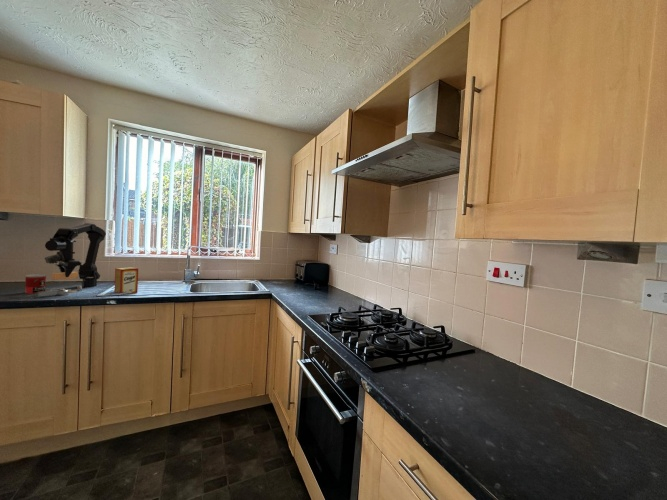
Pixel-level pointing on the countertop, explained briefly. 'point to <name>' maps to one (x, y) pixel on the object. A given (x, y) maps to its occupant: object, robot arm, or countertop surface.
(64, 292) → the crank handle
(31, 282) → the canned food
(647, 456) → the countertop surface
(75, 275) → the orange rectangular bar
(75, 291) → the tool board
